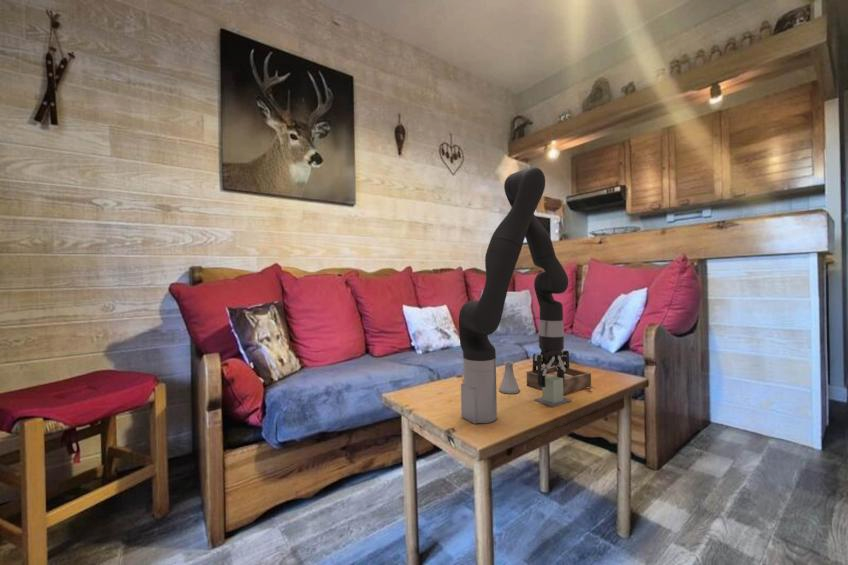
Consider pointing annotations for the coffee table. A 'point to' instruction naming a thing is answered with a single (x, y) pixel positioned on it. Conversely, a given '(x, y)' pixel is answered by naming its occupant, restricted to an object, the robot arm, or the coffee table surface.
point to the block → (553, 389)
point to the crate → (571, 379)
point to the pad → (551, 402)
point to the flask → (509, 380)
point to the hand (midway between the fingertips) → (551, 384)
